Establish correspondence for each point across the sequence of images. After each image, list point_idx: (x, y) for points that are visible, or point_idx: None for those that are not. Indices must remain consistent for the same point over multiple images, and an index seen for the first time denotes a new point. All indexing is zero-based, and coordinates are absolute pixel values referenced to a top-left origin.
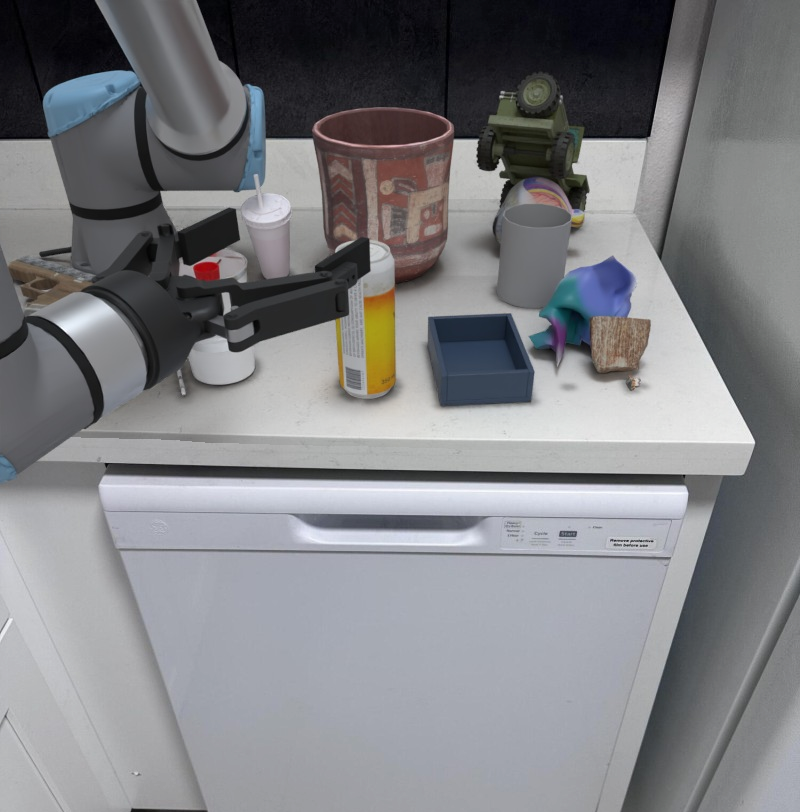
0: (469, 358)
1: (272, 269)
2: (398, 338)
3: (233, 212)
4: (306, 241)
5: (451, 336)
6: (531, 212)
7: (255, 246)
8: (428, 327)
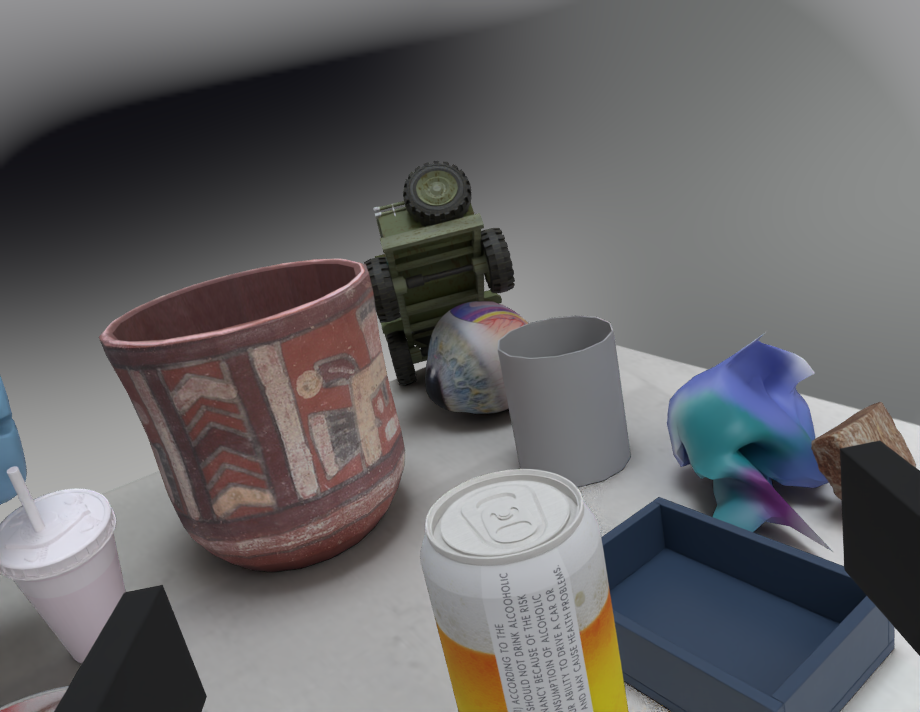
0: (671, 620)
1: None
2: None
3: (160, 605)
4: (121, 549)
5: None
6: (521, 340)
7: (48, 614)
8: None
